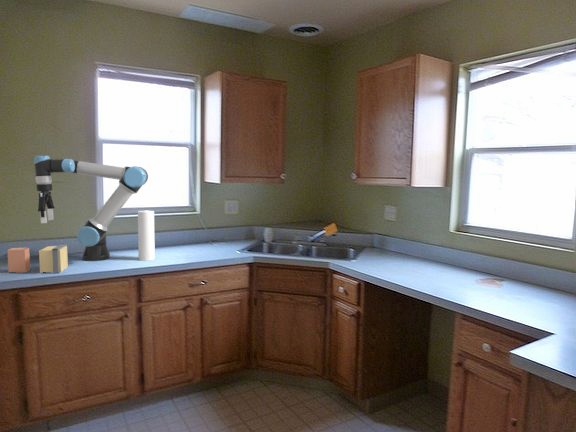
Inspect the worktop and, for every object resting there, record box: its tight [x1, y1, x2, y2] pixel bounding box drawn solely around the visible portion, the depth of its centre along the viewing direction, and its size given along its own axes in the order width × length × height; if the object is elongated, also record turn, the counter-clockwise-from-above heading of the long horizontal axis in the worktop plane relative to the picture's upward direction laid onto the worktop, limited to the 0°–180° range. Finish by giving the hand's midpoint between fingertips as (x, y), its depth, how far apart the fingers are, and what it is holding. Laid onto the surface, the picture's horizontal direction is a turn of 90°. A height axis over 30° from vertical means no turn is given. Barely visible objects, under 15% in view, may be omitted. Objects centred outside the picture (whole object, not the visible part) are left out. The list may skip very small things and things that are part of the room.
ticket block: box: [38, 243, 69, 274], centre depth 222 cm, size 10×15×13 cm, turn 13°
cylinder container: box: [137, 209, 156, 262], centre depth 252 cm, size 9×9×30 cm
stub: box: [6, 247, 31, 273], centre depth 218 cm, size 8×6×12 cm
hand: (47, 221), depth 232 cm, fingers open, 13 cm apart
